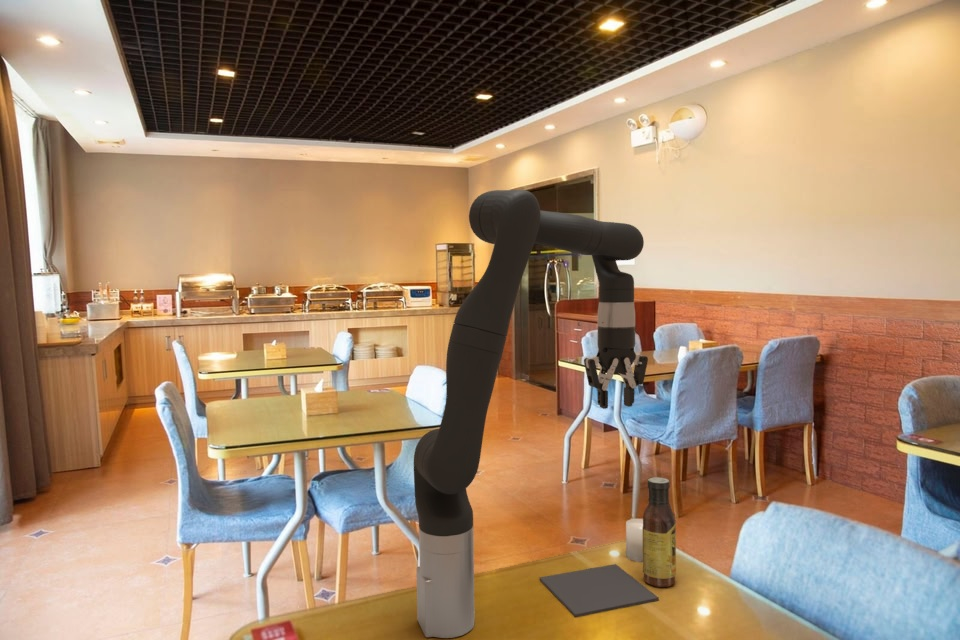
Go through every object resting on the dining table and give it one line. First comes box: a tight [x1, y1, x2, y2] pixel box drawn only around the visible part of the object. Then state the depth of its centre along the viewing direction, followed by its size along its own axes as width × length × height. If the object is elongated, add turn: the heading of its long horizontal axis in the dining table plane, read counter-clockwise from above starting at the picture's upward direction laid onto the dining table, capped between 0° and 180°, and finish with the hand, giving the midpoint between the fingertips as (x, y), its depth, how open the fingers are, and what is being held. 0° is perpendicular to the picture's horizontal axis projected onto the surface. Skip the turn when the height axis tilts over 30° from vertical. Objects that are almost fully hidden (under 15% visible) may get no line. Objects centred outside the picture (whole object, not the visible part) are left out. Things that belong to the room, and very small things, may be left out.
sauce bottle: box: [642, 476, 677, 588], centre depth 126 cm, size 6×6×20 cm
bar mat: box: [539, 563, 660, 618], centre depth 124 cm, size 17×15×1 cm
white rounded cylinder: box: [625, 518, 643, 563], centre depth 138 cm, size 6×6×7 cm
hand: (616, 406), depth 134 cm, fingers open, 5 cm apart
